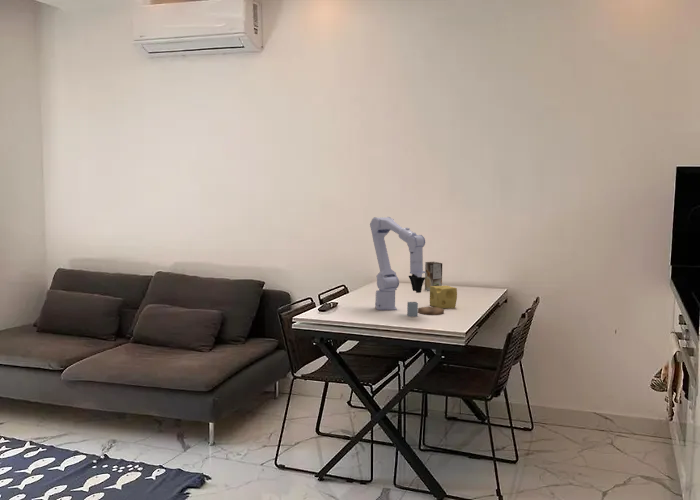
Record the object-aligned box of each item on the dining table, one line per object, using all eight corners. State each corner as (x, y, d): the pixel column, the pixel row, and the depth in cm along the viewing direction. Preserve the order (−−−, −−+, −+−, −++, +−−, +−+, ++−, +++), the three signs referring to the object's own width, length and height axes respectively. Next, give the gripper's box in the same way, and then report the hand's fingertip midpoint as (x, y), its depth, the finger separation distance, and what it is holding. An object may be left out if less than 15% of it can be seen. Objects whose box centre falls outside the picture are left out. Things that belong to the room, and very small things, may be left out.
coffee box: (442, 291, 377) (443, 263, 375) (432, 292, 374) (433, 263, 372) (433, 289, 385) (434, 261, 383) (424, 289, 382) (424, 261, 381)
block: (408, 316, 304) (409, 303, 303) (407, 314, 308) (407, 301, 307) (417, 316, 304) (417, 303, 303) (415, 314, 308) (416, 301, 307)
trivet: (420, 314, 307) (420, 311, 307) (415, 310, 319) (415, 306, 319) (446, 314, 308) (446, 311, 308) (440, 310, 320) (440, 306, 320)
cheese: (436, 309, 323) (437, 288, 322) (428, 305, 333) (429, 285, 332) (456, 308, 326) (457, 288, 325) (447, 304, 336) (448, 284, 335)
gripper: (428, 262, 297) (428, 293, 298) (421, 260, 312) (422, 289, 312) (412, 263, 297) (413, 293, 297) (406, 261, 311) (407, 290, 312)
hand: (416, 291), depth 305 cm, fingers open, 7 cm apart
